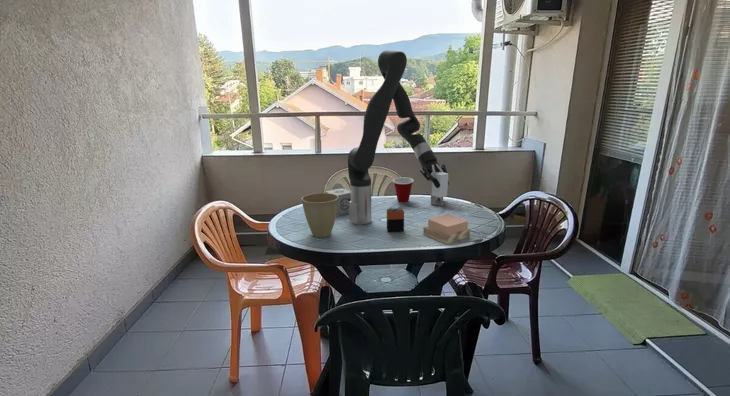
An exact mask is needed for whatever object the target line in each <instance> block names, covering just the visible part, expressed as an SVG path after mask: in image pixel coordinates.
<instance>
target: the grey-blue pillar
mask: <svg viewBox="0 0 730 396" xmlns="http://www.w3.org/2000/svg"><path fill="white" fill-rule="evenodd" d="M434 175H435V176H436V179H437V180H438V182H439V184H440V187H439V188H436V187H435V185H434V184H433V182H432V195H433V196H436V197H439V198H440V197H443V198H444V197H448V190H449V189H448V187H449V185H448V182H449V172H448V173H444V172H436V173H434Z"/></svg>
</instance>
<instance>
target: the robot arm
mask: <svg viewBox="0 0 730 396" xmlns="http://www.w3.org/2000/svg"><path fill="white" fill-rule="evenodd" d="M377 57H378V59H377V65H378V68H379V71H380V73H381V76H382V77H383V79H384V80H383V83H382V84H381V85H380V87H379V88H378V89H377V90H376V91H375V92H374V94H373V95H372V96H371V98H370V99H369V101H368V103H367V106H366V109H365V112H364V118H363V126H362V127H363V130H362V131H363V132H362V138H361V140H360V142H359V146H358V147H353V148H352V149H351V150H350V151H349V153H348V155H347V172H348V178H349V179H348V180H349V184H350V186H349V187H350V190H349V191H351V201H349V213H348V214H349V215H348V216H349V218H348V219H349V220H348V221H349V222H350V223H353V224H354V225H356V226H358V225H368V224H370V223H372V220H373V219H372V178H371V175H370V174H369V173H370V172H369V169H370V168H371V167H372V165H373V163H374V159H375V156H376V151H377V147H378V143H379V140H380V137H381V134H382V132H383V128H384V127H385V126H384V125H385V124H386V119H387V118H388V114H389V111H390V108H391V105H392V102H393V104H394V108H395V111H396V115H397V116H398V118H400V119H405V120H403V121H401V122H398V124H397V127H396V129H397V132H398V134H399V135H400V136H401V137H402V138H403V139H404V140H405V141H406V142H407V143H408V144H409V146H410V147H411V150H413V152H414V155H415V157H416V158H417V160H418V161H417V162H419V164H420V166H421V169H420V171H419V172H420V173H421V174H422V176H423V177H424V178H425V179H426V181H428V182H431V181H432V182H433V184H434V185H435V187H436V188H439V187H440V184H439V182H438V180H437V179H436V176H435V175H434V173H436V172H439V171H440V172H444V173H448V174H449V172H448V170H447V168H446V165H445V164H439V163H438V158H437V156H436V155H435V153H434V151H433V149H432V147H431V146H430V145H429V144H428V142H427V141H426V138H425V137H424V135H423V134H421V133H418V131H419V130H420V128H421V123H420V121H419V120H418V118H417V116H416V115H415V113H414V110H413V108H412V104H411V100H410V97H409V95H408V92H407V91H406V90H405V88H404V87H403V85H402V84H401V83H400V82H401V79H402V77H403V75H404V73H405V71H406V67H407V63H408V62H407V61H408V60H407V59H408V58H407V55H406V53H405V52H403V51H399V50H389V49H387V50H383V51H381V52H380V54H379V55H378V56H377ZM449 185H450V182H449V181H448V186H449Z"/></svg>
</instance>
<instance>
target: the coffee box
mask: <svg viewBox="0 0 730 396" xmlns="http://www.w3.org/2000/svg"><path fill="white" fill-rule="evenodd" d="M439 172H440V171H439ZM430 182H431V185H430V205H431V204H433V205H434V206H435V205H437V206H443V204H444V197H440V198H439V197H436V196H433V195H432V181H431V180H430Z"/></svg>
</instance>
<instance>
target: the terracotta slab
mask: <svg viewBox="0 0 730 396" xmlns="http://www.w3.org/2000/svg"><path fill="white" fill-rule="evenodd" d="M427 226H428V227H429V228H431V229H434V230H436V231H438V232H441V233H443V234H445V235H450V234H454V233H457V232H461V231H464V230H467V229H469V228H468V227H469V221H468V220H466V219H464V218H460V217H459V216H454V215H452V214H449V213H447V214H444V215H440V216H439V215H438V216H435V217H432V218H428V223H427Z"/></svg>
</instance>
